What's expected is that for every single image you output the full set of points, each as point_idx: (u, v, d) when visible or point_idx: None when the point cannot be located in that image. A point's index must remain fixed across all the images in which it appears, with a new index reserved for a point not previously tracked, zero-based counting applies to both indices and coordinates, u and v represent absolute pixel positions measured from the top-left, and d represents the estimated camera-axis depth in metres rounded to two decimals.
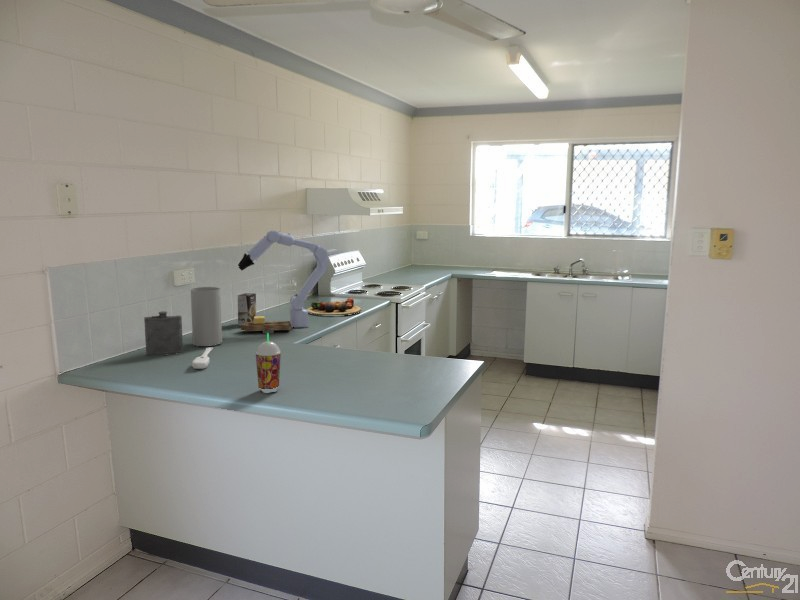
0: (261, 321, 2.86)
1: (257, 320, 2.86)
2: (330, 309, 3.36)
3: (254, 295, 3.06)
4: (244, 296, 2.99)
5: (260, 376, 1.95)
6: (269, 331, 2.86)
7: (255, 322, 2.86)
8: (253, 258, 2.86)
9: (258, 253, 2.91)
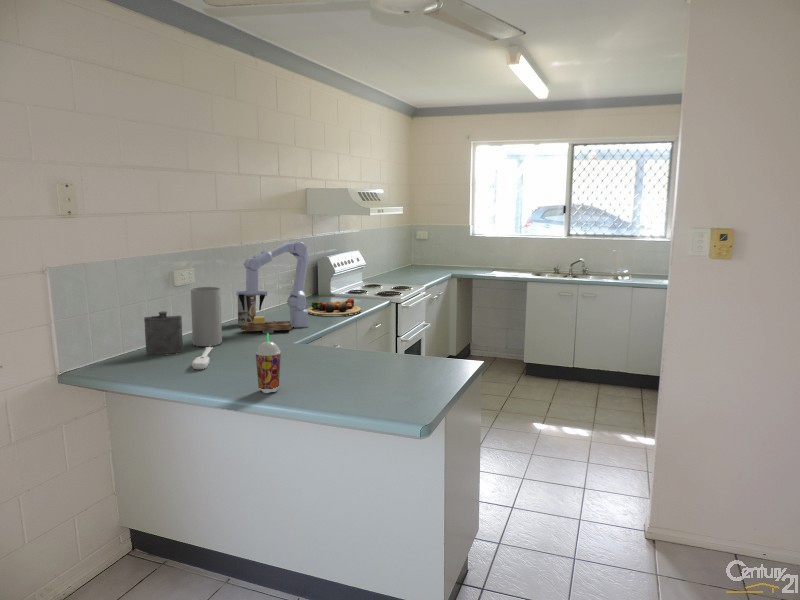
0: (261, 321, 2.86)
1: (257, 320, 2.86)
2: (330, 309, 3.35)
3: (254, 295, 3.06)
4: None
5: (260, 376, 1.95)
6: (269, 331, 2.86)
7: (255, 322, 2.86)
8: None
9: None
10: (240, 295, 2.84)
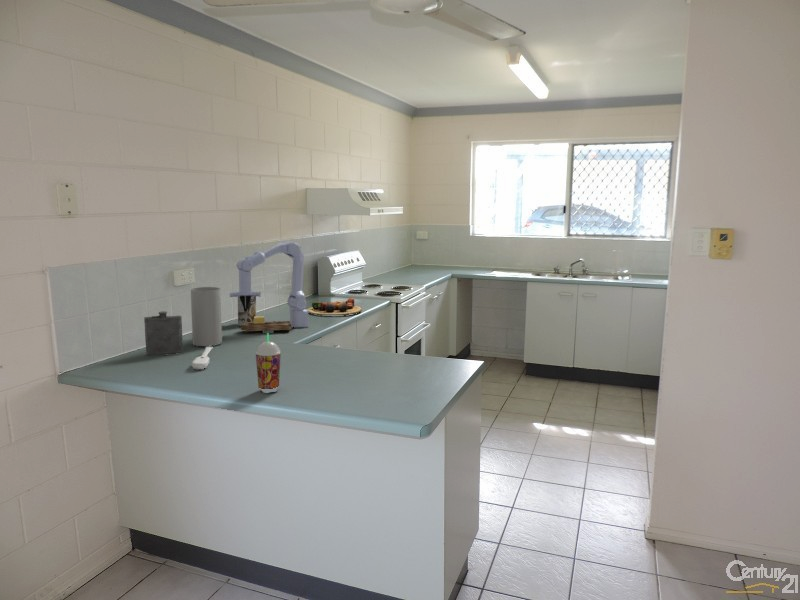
0: (261, 321, 2.86)
1: (257, 320, 2.86)
2: (331, 309, 3.35)
3: None
4: None
5: (260, 376, 1.95)
6: (269, 331, 2.86)
7: (255, 322, 2.86)
8: (260, 293, 2.87)
9: None
10: None
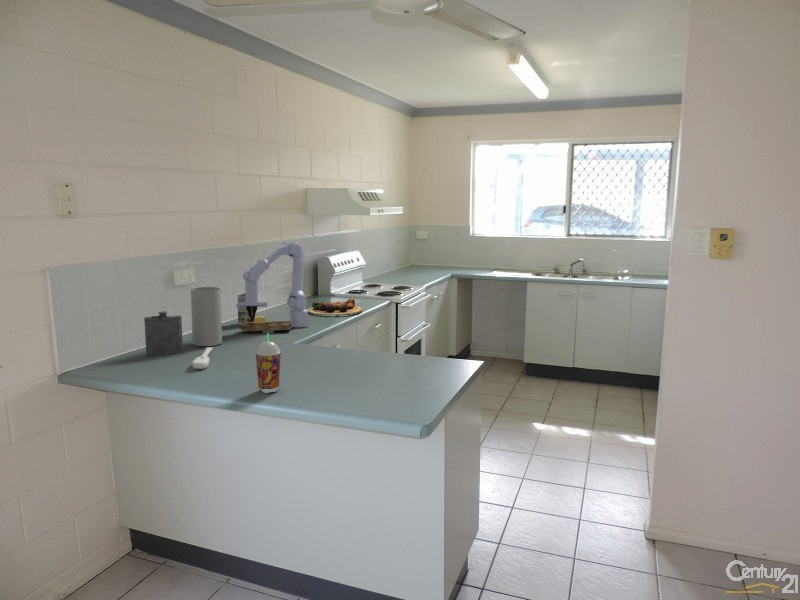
0: (262, 321, 2.86)
1: (258, 320, 2.86)
2: (331, 309, 3.35)
3: None
4: (244, 296, 2.99)
5: (260, 376, 1.95)
6: (269, 331, 2.86)
7: (256, 322, 2.86)
8: None
9: None
10: None
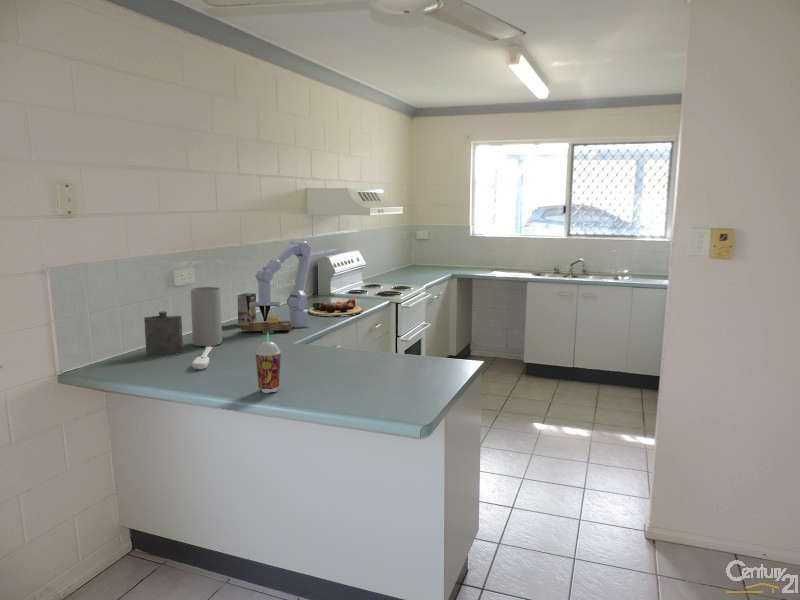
0: (274, 321, 2.88)
1: (271, 320, 2.87)
2: (331, 309, 3.35)
3: (254, 295, 3.06)
4: (244, 296, 2.99)
5: (260, 376, 1.95)
6: (269, 331, 2.86)
7: (268, 322, 2.87)
8: (279, 303, 2.90)
9: None
10: None
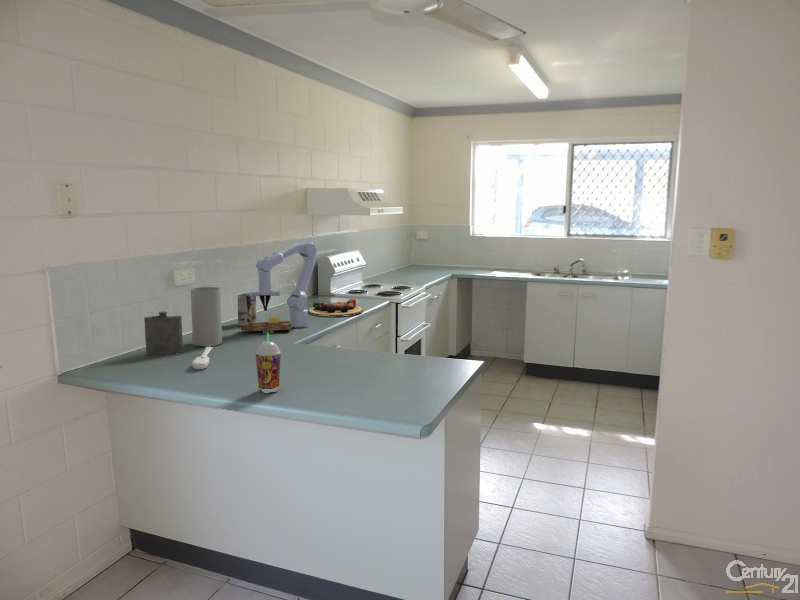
0: (276, 321, 2.88)
1: (272, 320, 2.88)
2: (332, 309, 3.34)
3: None
4: (244, 296, 2.99)
5: (260, 376, 1.95)
6: (269, 331, 2.86)
7: (270, 322, 2.87)
8: (279, 293, 2.92)
9: None
10: None
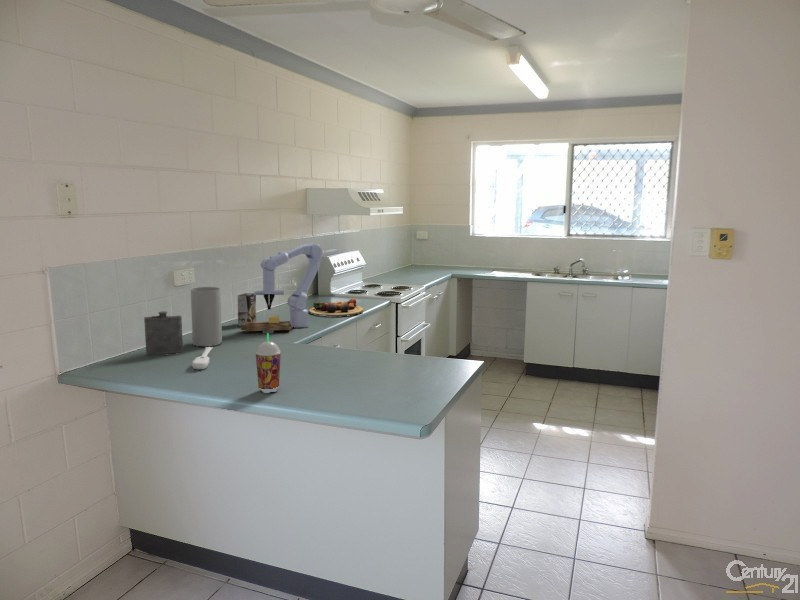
0: (276, 321, 2.88)
1: (272, 320, 2.88)
2: (332, 309, 3.34)
3: (254, 295, 3.06)
4: (244, 296, 2.99)
5: (260, 376, 1.95)
6: (269, 331, 2.86)
7: (270, 322, 2.87)
8: (283, 292, 2.94)
9: None
10: None
